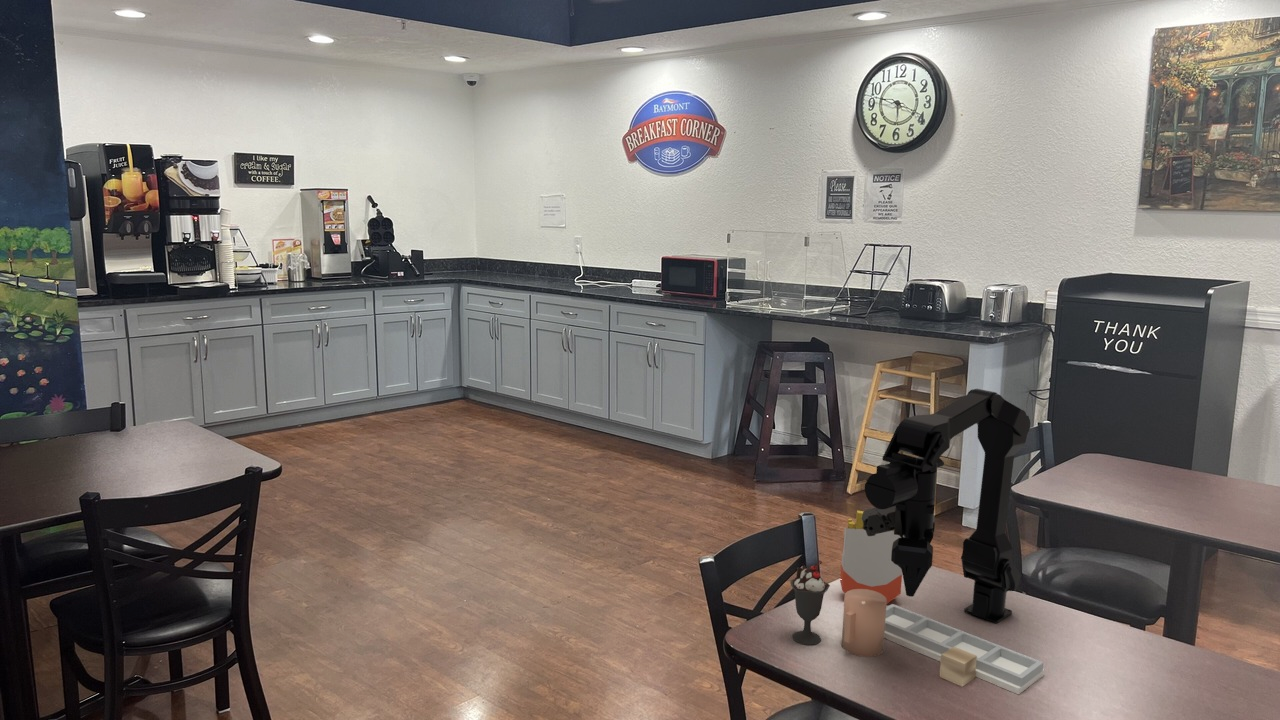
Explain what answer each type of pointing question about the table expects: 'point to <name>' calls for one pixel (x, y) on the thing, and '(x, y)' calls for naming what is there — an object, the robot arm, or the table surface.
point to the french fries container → (869, 561)
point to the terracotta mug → (864, 622)
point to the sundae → (808, 601)
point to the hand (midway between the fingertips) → (911, 584)
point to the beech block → (958, 666)
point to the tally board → (939, 638)
